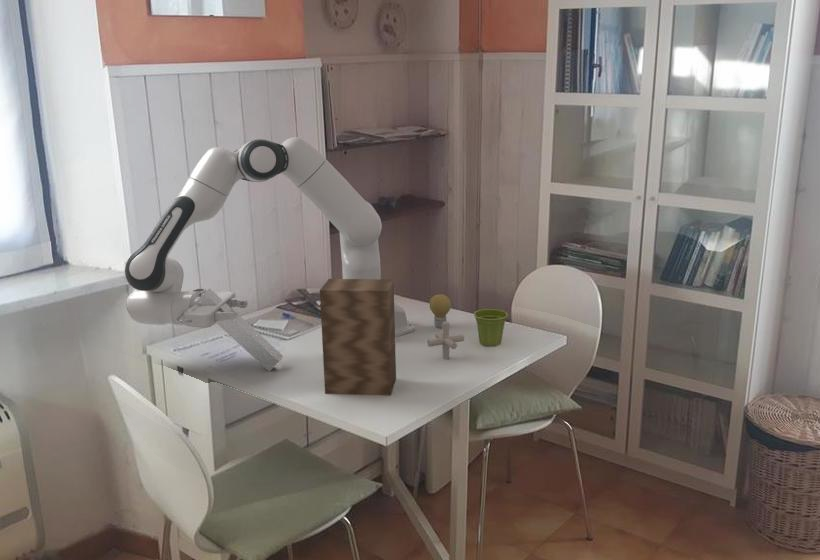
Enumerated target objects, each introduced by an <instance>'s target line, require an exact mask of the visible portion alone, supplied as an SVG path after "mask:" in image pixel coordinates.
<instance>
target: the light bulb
mask: <svg viewBox="0 0 820 560" xmlns="http://www.w3.org/2000/svg"><path fill="white" fill-rule="evenodd" d="M428 306H429V309H430V311H431V312H432V314H433V315H434V316H433V324H434V327H436V328H440V329H442V322H448V320H447V318H448V317H447V314H448V313H449V312H450V310H451V307H452V302H451V300H450V298H449V297H448V296H447V295H445V294H441V293H439V294H436V295H435V294H434V296H432V297H431V298H430V300H429V305H428Z"/></svg>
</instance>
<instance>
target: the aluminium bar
mask: <svg viewBox="0 0 820 560" xmlns="http://www.w3.org/2000/svg"><path fill="white" fill-rule="evenodd" d="M212 290H213V289H211V288H207V289H206V292H204V293H203V294H202V296H201V297H200V298H199V299H198V300H197V301H196V302H198V305H200V306H205V305H218V304H219V303H220V302H221V301H222V299H221V298H220V297H219V296H217V295H216V294H215V293H214V292H213V291H212ZM196 302H195V303H196ZM228 311H235V310H234V309H233V307H232V308H231V307H229V306H228V305H227V304H226V303H225V304H224V305H223V306H222V307H220V308H219V309H218V312H228ZM215 324H217V325H218V326H219V327H220V328H221V329H222V330H223V331H224V332H225V333H227V335H229V336H230V338H232V339H233V340H234V341H235V342H236V343H237V344H238V345H240V346H241V347H242V349H244V350H245V351H246V352H247V353H249V354H250V356H251V357H253V358H254V359H255V360H256V361H257V362H258V363H259V364H260V365H261V366H262V367H263V368H265V369H266V370H267V371H268V372H270V371H272V369H274V368H275V367H276V366H277V365H278V363H280V361H281V360H282V359H283V358H284V355H283V354H282V353H281V352H280V351H278V350H277V349H276V347H274V346H273V345H272V344H271V343H270V342H269V341H268V340H266V339H265V338H264V337H263V336H262V335H261V334H260V333H259V332H258V331H257V330H256V329H255V328H253V327H252V326H251V325H250V324H249V323H248V322H247V321H246V320H245V319H243V317H241V316H240V315H239V314H238V313H237V312H236V317H235V318H234V319H227V320H223V321H217V322H216V323H215Z"/></svg>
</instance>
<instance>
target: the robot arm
mask: <svg viewBox="0 0 820 560" xmlns="http://www.w3.org/2000/svg"><path fill="white" fill-rule="evenodd" d="M279 174H280V175H283V176H285V177H286V178H288V180H289V179H290V181H291V182H292V184H294V185H295V186H296V187H297V188H298V190H300V191H301V192H302V193H303V194H304V195H305V197H307V198H308V200H310V201H311V202H312V203H313V204H314V206H315V207H316V208H317V209H319V210H320V212H321V213H322V214H323V215H324V217H325V218H326V219H327V220H328V221H329V222H330V223H331V224H332V226H334V227H335V228H336V230H338V232H339V242H340V243H339V244H340V254H341V257H340V258H341V271H342V272H341V273H342V279H382V274H381V273H382V272H381V271H382V270H381V256H380V248H379V247H380V246H379V237H380V235H381V232H382V230H383V229H382V227H383V225H382V220H381V217H380V215H379V214H378V213H377V210H376V209H375V208H374V206H373V205H372V204H371V203H370V202H368V201H367V200H365V199H364V198H363V197H362V196H361V195H360V194H359V192H358V191H357V190H356V189H355V188H354V187H353V186H352V185H351V183H349V181H348V180H347V179H346V178H345V176H343V175H342V174H341V173H340V172H339V171H338V170H337V169H336V168H335V167H334V166H333V165H332V163H330V162H329V160H328V159H327V158H326V157H325V156H324V155H322V154H321V153H320V152H319V151H318V150H317V149H316V148H315V147H313V146H312V145H311V144H309V143H308V142H307V141H306V140H304V139H302V138H301V137H298V136H294V137H293V136H292V137H290V138H287V139H285V140H283V142H282V143H277V142H273V141H270V140H266V139H261V138H260V139H259V138H258V139H253V140H251V141H247V142H246V143H244V144H243V145H242V146H241V147H240V148H237V149H236V150H235V151H230V150H228V149H226V148H224V147H219V146H216V147H215V146H214V147H211V148H209V149H207V151H206V152H205V153H204V154H203V155H202V157H201V158H200V159H199V161H198V162H197V164H195V166H194V168H193V170H192V171H191V173H190V175H189V177H188V178H187V180H186V182H185V184H184V186H183V188H182V189H181V190H180V192H179V194H177V196H176V198H175V199H174V200H173V201H172V202H171V203H170V205H169V206H168V208H167V209H166V210H165V212H164V213H163V214H162V216H161V217H160V219H159V221H158V222H157V224H156V225H155V227H154V228H153V230H152V231H151V233H150V234H149V236H148V237H147V239H146V241H145V242H144V243H143V244H142V245H141V246H140V247H139V248H138V249H137V250H136V251H135V252H133V253H132V254H131V255H130V256H129V258H128V259H127V261H126V263H125V266H124V275H125V278H126V281H127V282H128V284H129V285H130V286H131V287H132V288H134V290H133V291H132V292H131V293H130V294H129V295H128V296H127V298H126V310H127V313H128V316H129V317H130V319H131V320H133V321H134V322H136V323H139V324H144V325H150V326H151V325H154V326H163V325H164V326H165V325H168V324H170V325H173V326H185V327H189V328H200V329H201V328H202V329H203V328H204V329H205V328H206V329H207V328H212V327H213V326H214V325H215V324H217V323H216V322H217V321H223V320H227V319H234V318H235V317H236V313H237V312H236V311H235V310H234V311H228V312H218V309H219V308H220V307H222V306H223V305H224V304H225V303H226V304H227V305H228V306H229V307H231V308H232V309H233V308H239V309H246V308H248V306H249V305H248V304H249V303H248V300H247V299H240V298H237V297H236V293H234V292H233V291H230V290H229V291H228V290H217V289H215V290H213V289H211V290H212V291H213V292H214V293H215V294H216V295H217V296H219V297H220V298H221V299H222V301H221V302H220V303H219V304H218V305H205V306H200V305H198V302H196V301H197V300H198V299H199V298H200V297H201V296H202V294H203V293H204V292H206V291H207V288H203V287H201V288H200V287H199V288H197V289H194V290H187V291H182V286H183V282H184V270H183V267H182V265H181V264H180V263H179V262H178V261H177V260H175V259H174V258H173V259H172V258H170V257H169V255H170V253H171V251H172V250H173V248H174V246H175V245H176V244H177V242H178V240H179V238H180V237H181V235H183V233H184V231H185V230H186V229H187V228H189V227H190V226H192V225H193V224H196V223H199V222H204V221H207V220H210V219H213V218H214V217H216V215H217V214H218V213H219V212H220V210H221V209H222V208H223V206H224V205H225V202H226V200H227V198H228V197H229V195H230V192H231V191H232V189H233V187H234V186H235V184H236V183H237V182H238V181H239V180H242V181H246V182H251V183H253V182H254V183H263V182H267V181H269V180H271V179H272V178H274V177H276V176H277V175H279ZM195 302H196V303H195ZM394 316H395V338H397V337H400V336H403V335H406V334H409V333H411V332H414V331H415V330H416V329H415V325H414V324H413V323H412V322H410V321H408V319H407V315H406V312H405V310H404V308H403V307H401V305H399V304H398V303H396V302H394Z"/></svg>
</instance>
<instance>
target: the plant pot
mask: <svg viewBox="0 0 820 560" xmlns="http://www.w3.org/2000/svg"><path fill="white" fill-rule="evenodd" d="M473 316H474V317H475V321H476V325H477V333H478V342H479V344H480V345H482V346H485V347H490V346H492V347H497V346H499V345H501V343H502V340H503V333H504V328H505V322H506V320H507V317H508V316H509V313H507V312H506V311H504V310H502V309H494V308H492V309H491V308H484V309H483V308H482V309H479V310H476V311H474V312H473Z"/></svg>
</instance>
